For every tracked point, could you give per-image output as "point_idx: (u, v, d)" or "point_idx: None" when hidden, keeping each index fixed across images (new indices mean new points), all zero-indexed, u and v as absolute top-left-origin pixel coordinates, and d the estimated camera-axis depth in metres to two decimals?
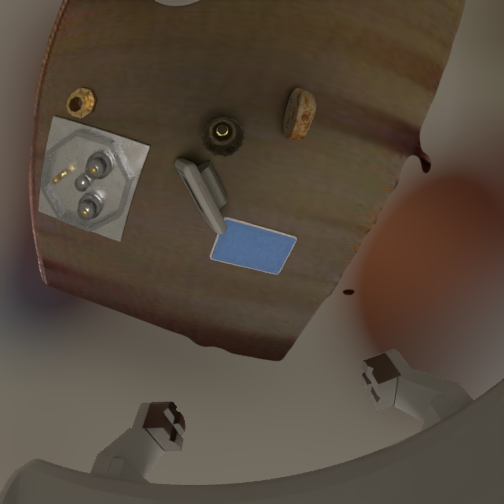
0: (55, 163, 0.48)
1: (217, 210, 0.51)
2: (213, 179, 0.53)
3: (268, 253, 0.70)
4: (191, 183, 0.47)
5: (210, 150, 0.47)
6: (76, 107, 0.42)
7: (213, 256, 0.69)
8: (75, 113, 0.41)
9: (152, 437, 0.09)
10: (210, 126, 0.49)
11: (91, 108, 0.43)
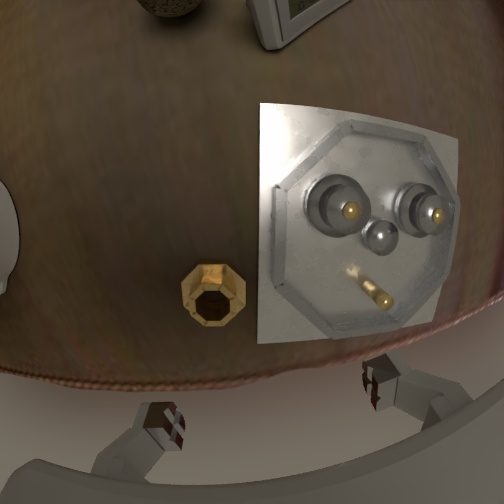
0: (350, 310, 0.30)
1: None
2: None
3: None
4: None
5: None
6: (227, 300, 0.28)
7: None
8: (232, 299, 0.25)
9: (152, 437, 0.09)
10: None
11: (218, 266, 0.27)
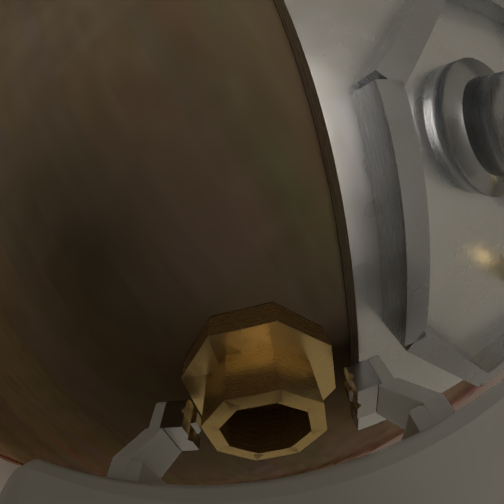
0: (497, 324, 0.12)
1: None
2: None
3: None
4: None
5: None
6: None
7: None
8: (315, 409, 0.08)
9: (169, 437, 0.08)
10: None
11: (257, 328, 0.10)
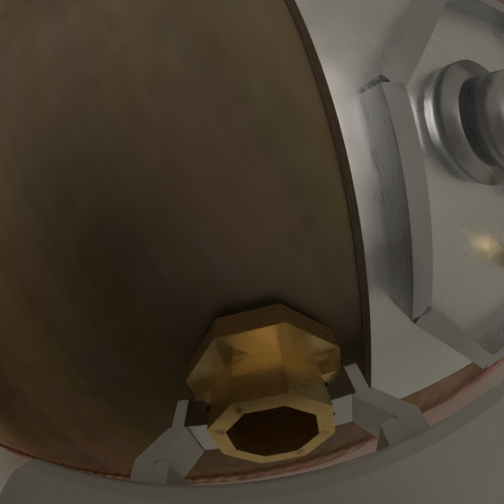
0: (500, 309, 0.12)
1: None
2: None
3: None
4: None
5: None
6: None
7: None
8: (323, 412, 0.08)
9: (192, 436, 0.08)
10: None
11: (265, 330, 0.10)
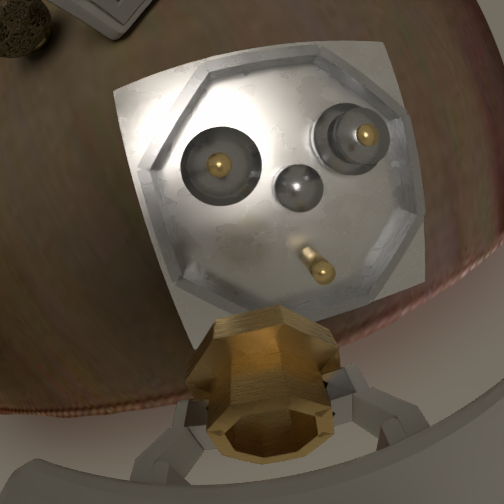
0: (294, 291, 0.24)
1: None
2: None
3: None
4: None
5: (31, 7, 0.09)
6: None
7: None
8: (322, 414, 0.08)
9: (193, 436, 0.08)
10: (27, 51, 0.14)
11: (264, 331, 0.10)
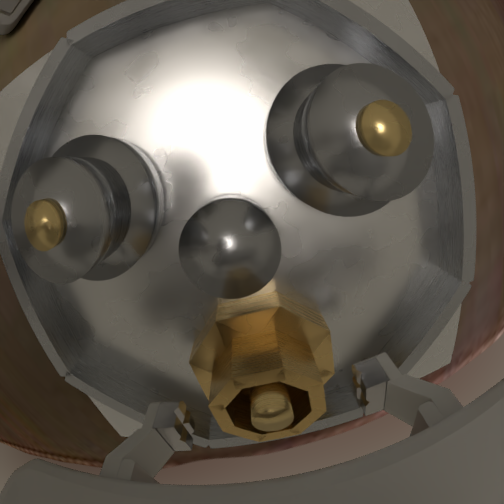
0: None
1: None
2: None
3: None
4: None
5: None
6: None
7: None
8: (314, 389, 0.09)
9: (162, 437, 0.09)
10: None
11: (262, 314, 0.11)
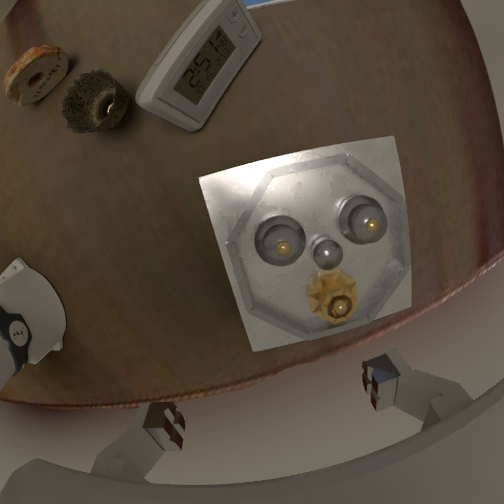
0: None
1: (191, 13, 0.18)
2: None
3: None
4: (162, 74, 0.19)
5: (115, 95, 0.22)
6: (343, 299, 0.35)
7: None
8: (353, 298, 0.31)
9: (152, 437, 0.09)
10: None
11: (335, 275, 0.33)
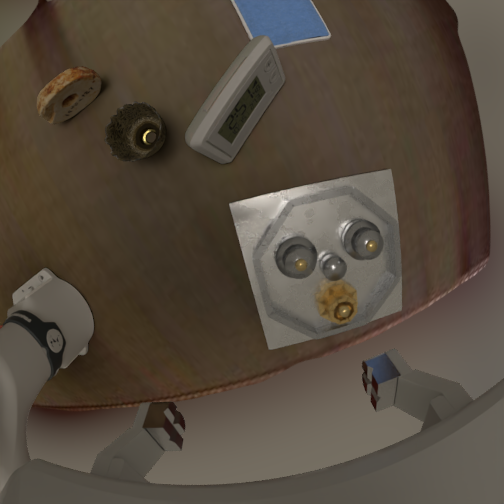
0: None
1: (233, 63, 0.24)
2: None
3: None
4: (211, 121, 0.26)
5: (160, 129, 0.29)
6: None
7: (323, 34, 0.31)
8: (354, 303, 0.38)
9: (151, 437, 0.09)
10: (148, 153, 0.33)
11: (339, 285, 0.40)
